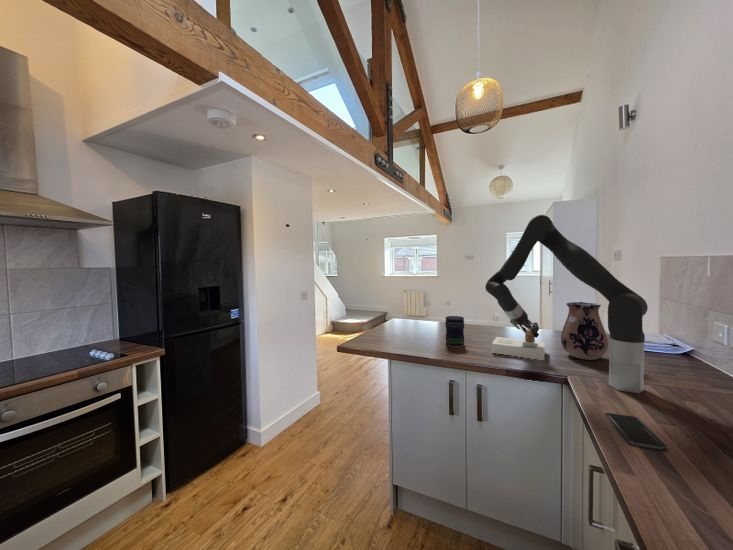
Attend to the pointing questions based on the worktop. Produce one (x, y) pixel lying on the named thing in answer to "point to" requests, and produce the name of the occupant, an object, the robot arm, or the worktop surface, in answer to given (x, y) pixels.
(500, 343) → the socket block
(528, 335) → the peg
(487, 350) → the worktop surface
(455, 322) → the storage jar
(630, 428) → the phone
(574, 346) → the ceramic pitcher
